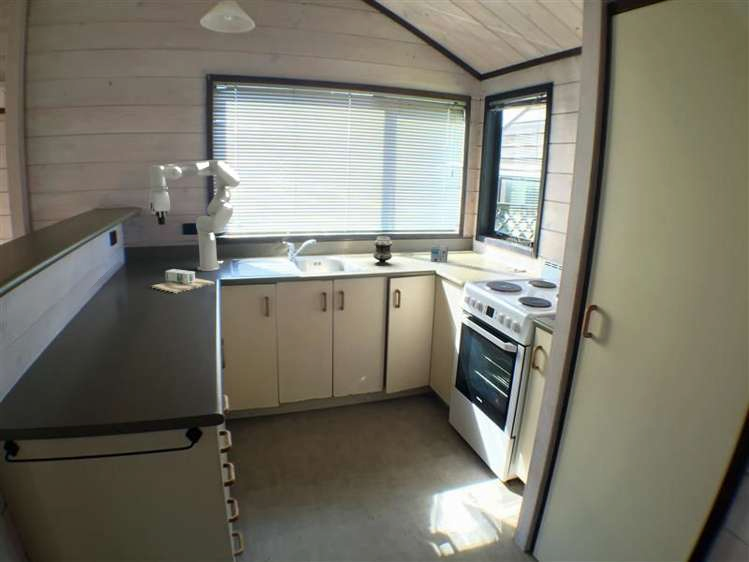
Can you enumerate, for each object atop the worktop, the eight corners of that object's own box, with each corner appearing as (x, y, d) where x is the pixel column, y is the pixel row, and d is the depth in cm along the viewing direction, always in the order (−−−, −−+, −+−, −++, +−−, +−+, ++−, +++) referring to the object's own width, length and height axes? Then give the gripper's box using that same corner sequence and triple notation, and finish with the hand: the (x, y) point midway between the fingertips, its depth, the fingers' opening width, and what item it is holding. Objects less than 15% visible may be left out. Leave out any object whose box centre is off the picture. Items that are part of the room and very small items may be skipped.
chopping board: (191, 279, 258) (191, 277, 258) (214, 283, 249) (214, 281, 249) (151, 288, 238) (151, 285, 237) (175, 293, 229) (175, 291, 229)
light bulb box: (430, 261, 324) (431, 246, 322) (432, 259, 331) (432, 244, 328) (445, 262, 321) (446, 247, 319) (447, 261, 328) (448, 245, 325)
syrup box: (164, 270, 245) (187, 273, 240) (173, 268, 250) (195, 271, 245) (165, 281, 246) (187, 284, 241) (174, 279, 252) (196, 282, 247)
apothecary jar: (391, 266, 305) (392, 238, 301) (372, 266, 305) (373, 238, 301) (391, 262, 316) (392, 236, 312) (373, 262, 317) (374, 235, 312)
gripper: (166, 188, 257) (169, 222, 262) (141, 189, 245) (144, 225, 249) (175, 189, 254) (178, 223, 258) (150, 190, 241) (153, 226, 246)
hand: (161, 224), depth 254 cm, fingers closed
